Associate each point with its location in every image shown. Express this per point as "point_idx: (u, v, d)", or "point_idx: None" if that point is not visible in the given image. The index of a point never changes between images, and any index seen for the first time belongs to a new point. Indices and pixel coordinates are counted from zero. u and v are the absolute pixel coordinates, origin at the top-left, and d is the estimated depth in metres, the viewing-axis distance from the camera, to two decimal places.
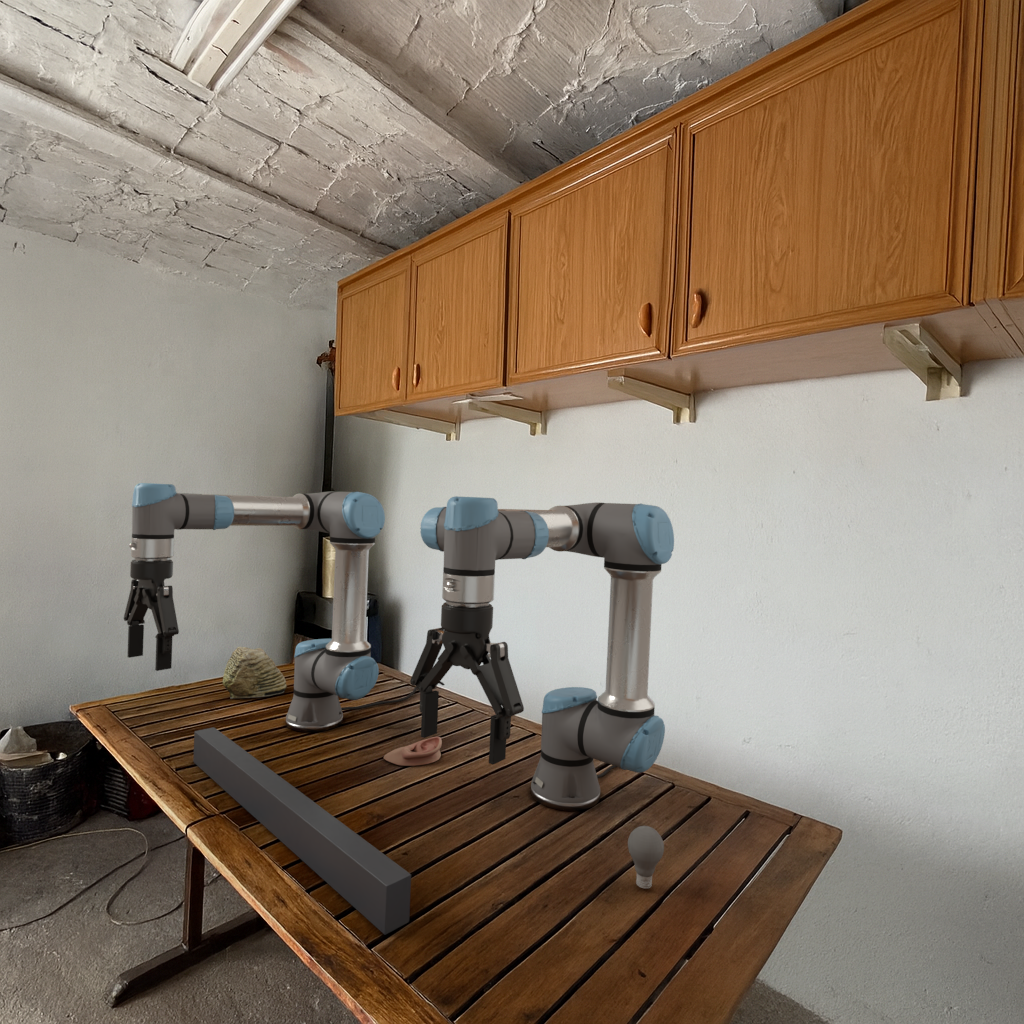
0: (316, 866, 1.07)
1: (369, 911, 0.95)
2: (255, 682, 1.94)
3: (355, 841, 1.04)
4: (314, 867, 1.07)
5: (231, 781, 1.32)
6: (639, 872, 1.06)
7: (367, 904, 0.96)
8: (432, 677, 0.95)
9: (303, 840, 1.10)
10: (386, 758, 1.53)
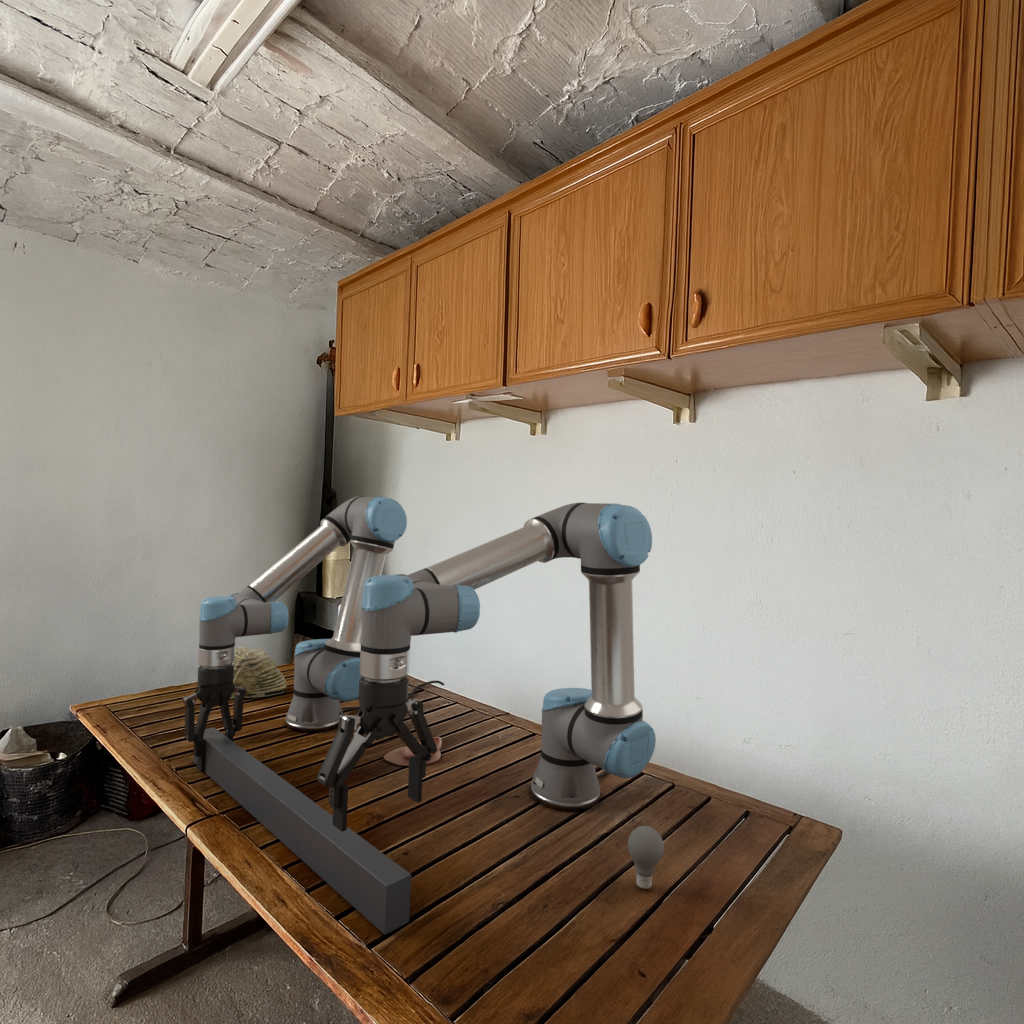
0: (316, 866, 1.07)
1: (369, 911, 0.95)
2: (255, 682, 1.94)
3: (355, 841, 1.04)
4: (314, 867, 1.07)
5: (231, 781, 1.32)
6: (639, 872, 1.06)
7: (367, 904, 0.96)
8: (355, 764, 0.93)
9: (303, 840, 1.10)
10: (386, 758, 1.53)
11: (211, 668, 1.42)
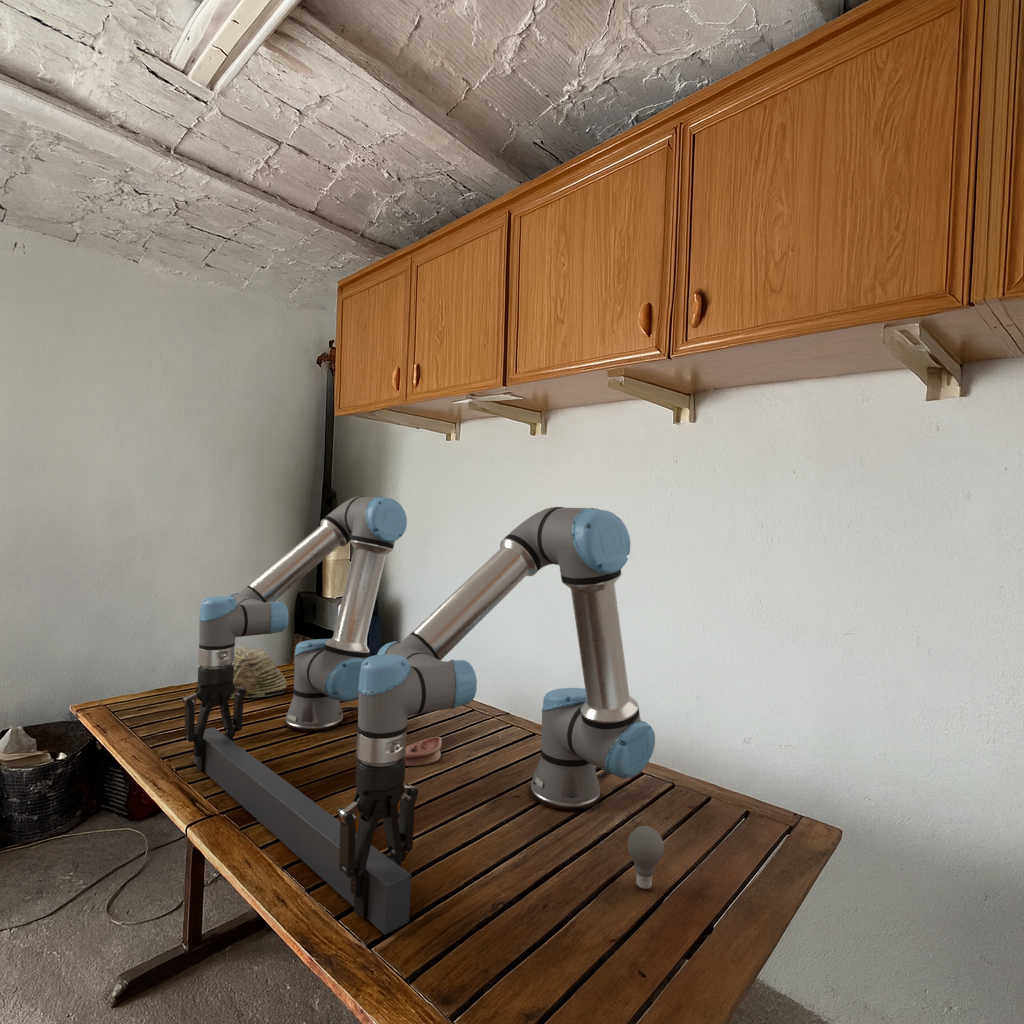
0: (316, 866, 1.07)
1: (369, 911, 0.95)
2: (255, 682, 1.94)
3: None
4: (314, 867, 1.07)
5: (231, 781, 1.32)
6: (639, 872, 1.06)
7: None
8: (369, 850, 0.96)
9: (303, 840, 1.10)
10: None
11: (211, 668, 1.42)
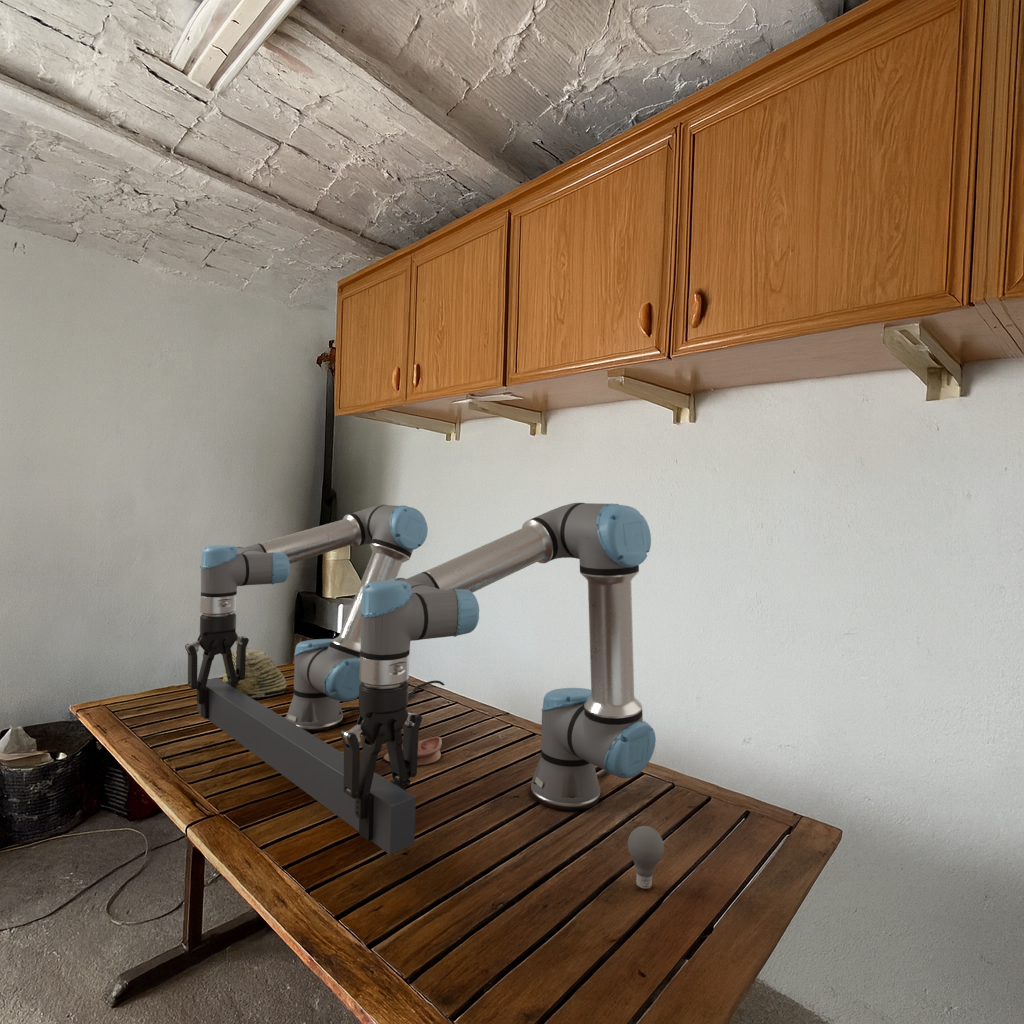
0: (321, 796, 1.07)
1: (374, 833, 0.96)
2: (255, 682, 1.94)
3: None
4: (319, 798, 1.07)
5: (235, 725, 1.32)
6: (639, 872, 1.06)
7: None
8: (373, 772, 0.96)
9: (308, 772, 1.10)
10: (386, 758, 1.53)
11: (213, 615, 1.42)
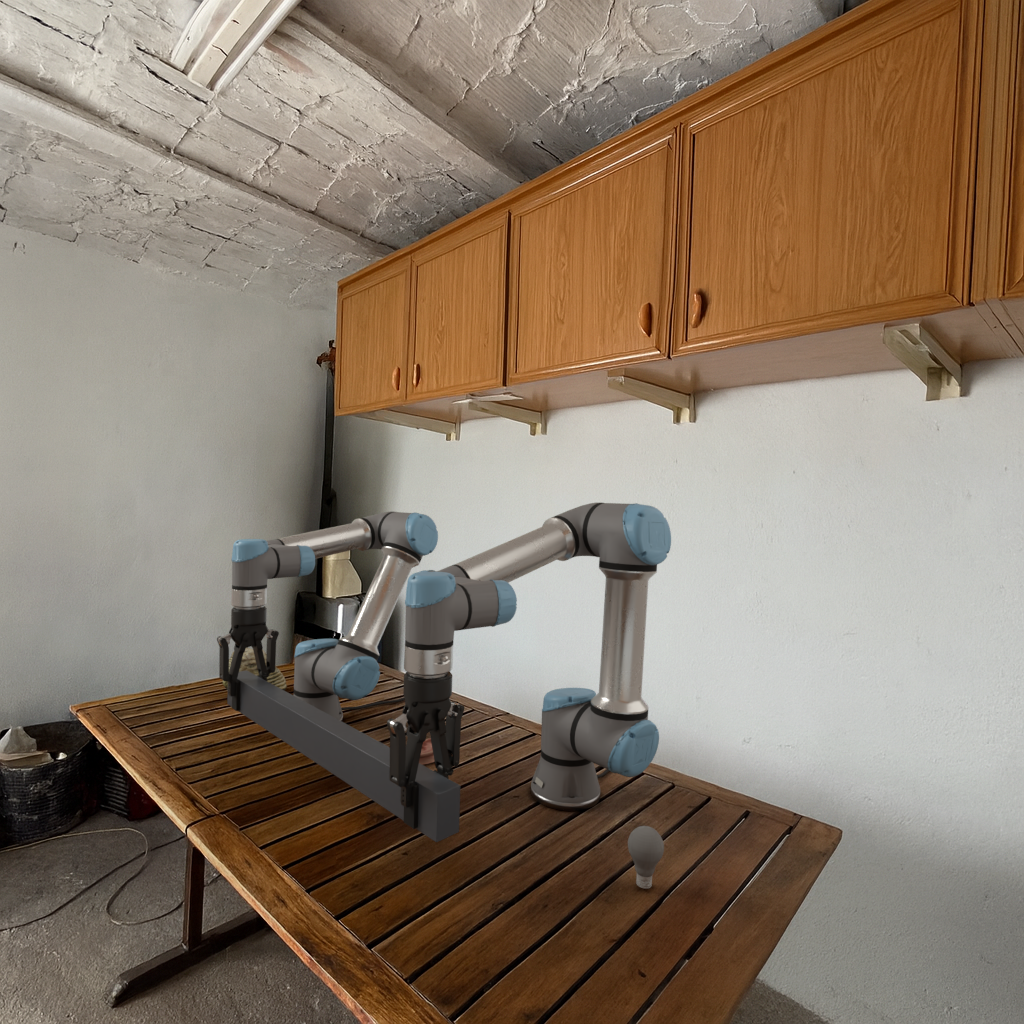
0: (362, 786, 1.08)
1: (419, 821, 0.97)
2: None
3: None
4: (360, 787, 1.08)
5: (268, 717, 1.33)
6: (639, 872, 1.06)
7: None
8: (418, 761, 0.97)
9: (348, 762, 1.11)
10: None
11: (244, 608, 1.43)
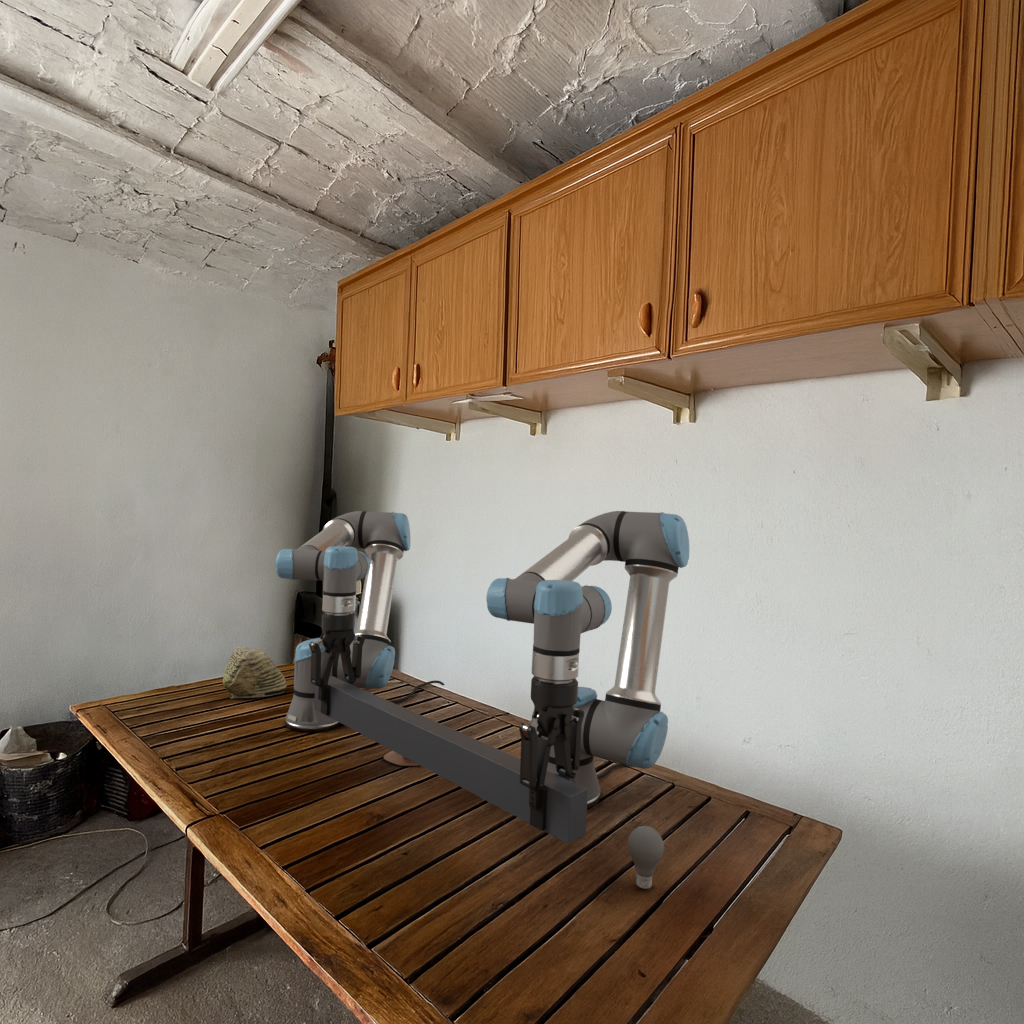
0: (478, 789, 1.10)
1: (547, 823, 0.99)
2: (255, 682, 1.94)
3: None
4: (475, 791, 1.11)
5: (364, 722, 1.36)
6: (639, 872, 1.06)
7: None
8: (547, 764, 0.99)
9: (461, 766, 1.14)
10: (386, 758, 1.53)
11: (336, 614, 1.45)
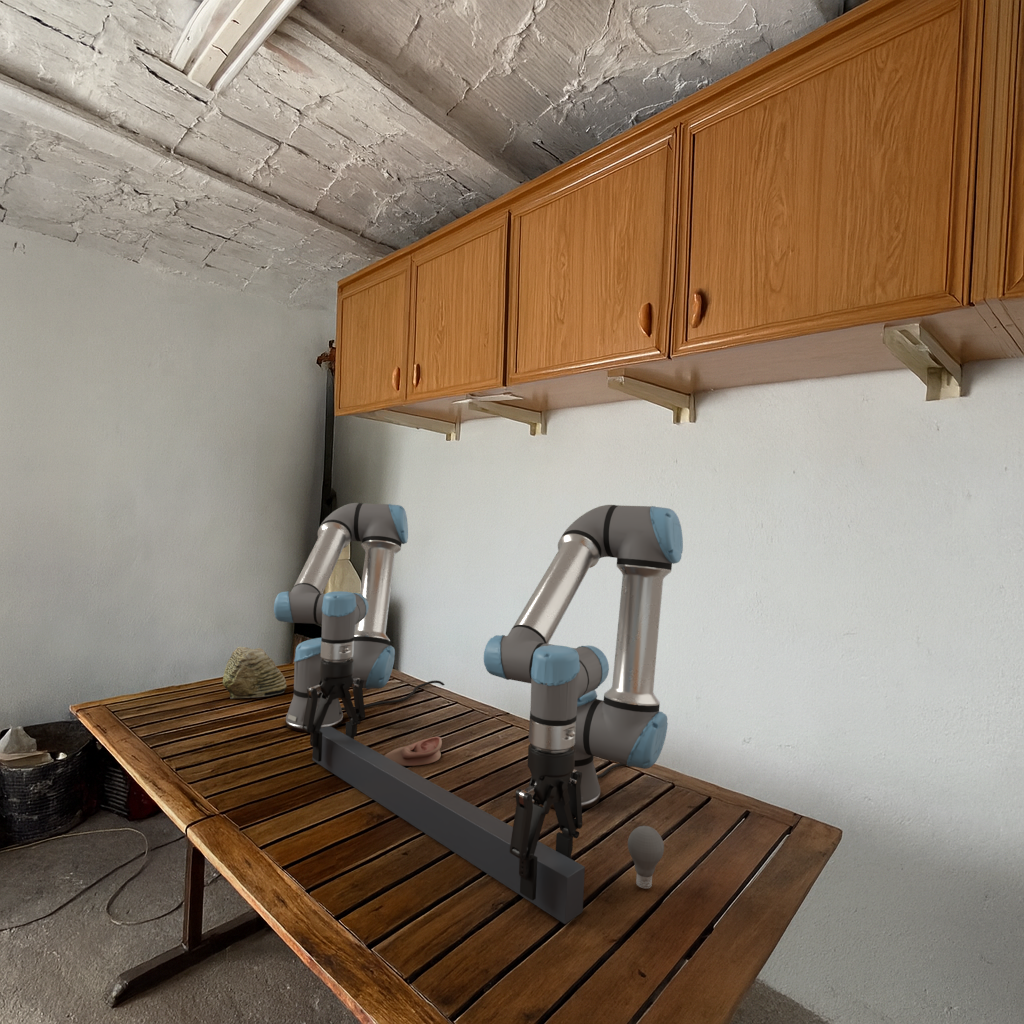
0: (476, 859, 1.11)
1: (544, 901, 1.00)
2: (255, 682, 1.94)
3: None
4: (473, 860, 1.11)
5: (363, 779, 1.36)
6: (639, 872, 1.06)
7: (542, 895, 1.00)
8: (539, 834, 0.99)
9: (459, 834, 1.14)
10: None
11: (334, 661, 1.46)
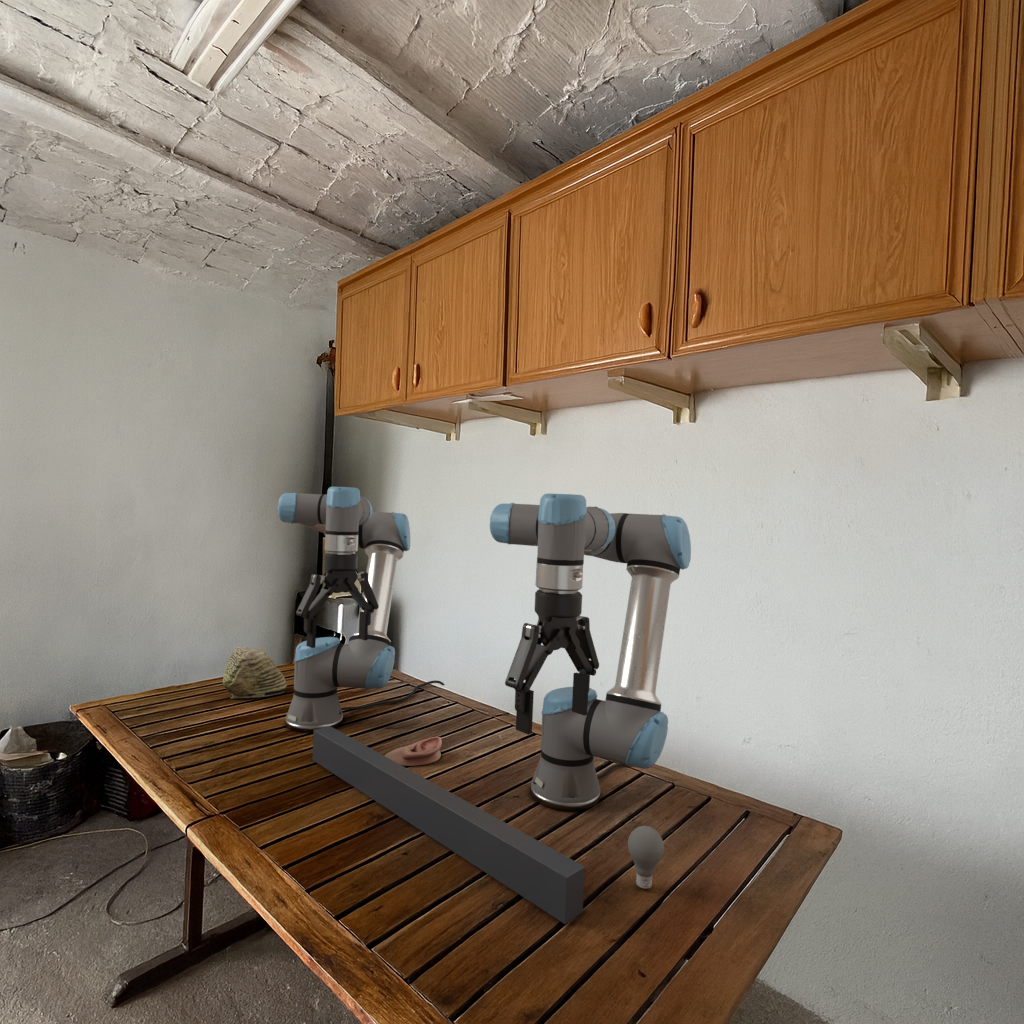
0: (476, 859, 1.11)
1: (544, 901, 1.00)
2: (255, 682, 1.94)
3: (517, 835, 1.08)
4: (473, 860, 1.11)
5: (363, 779, 1.36)
6: (639, 872, 1.06)
7: (542, 895, 1.00)
8: (538, 671, 0.97)
9: (459, 834, 1.14)
10: None
11: (339, 553, 1.45)
